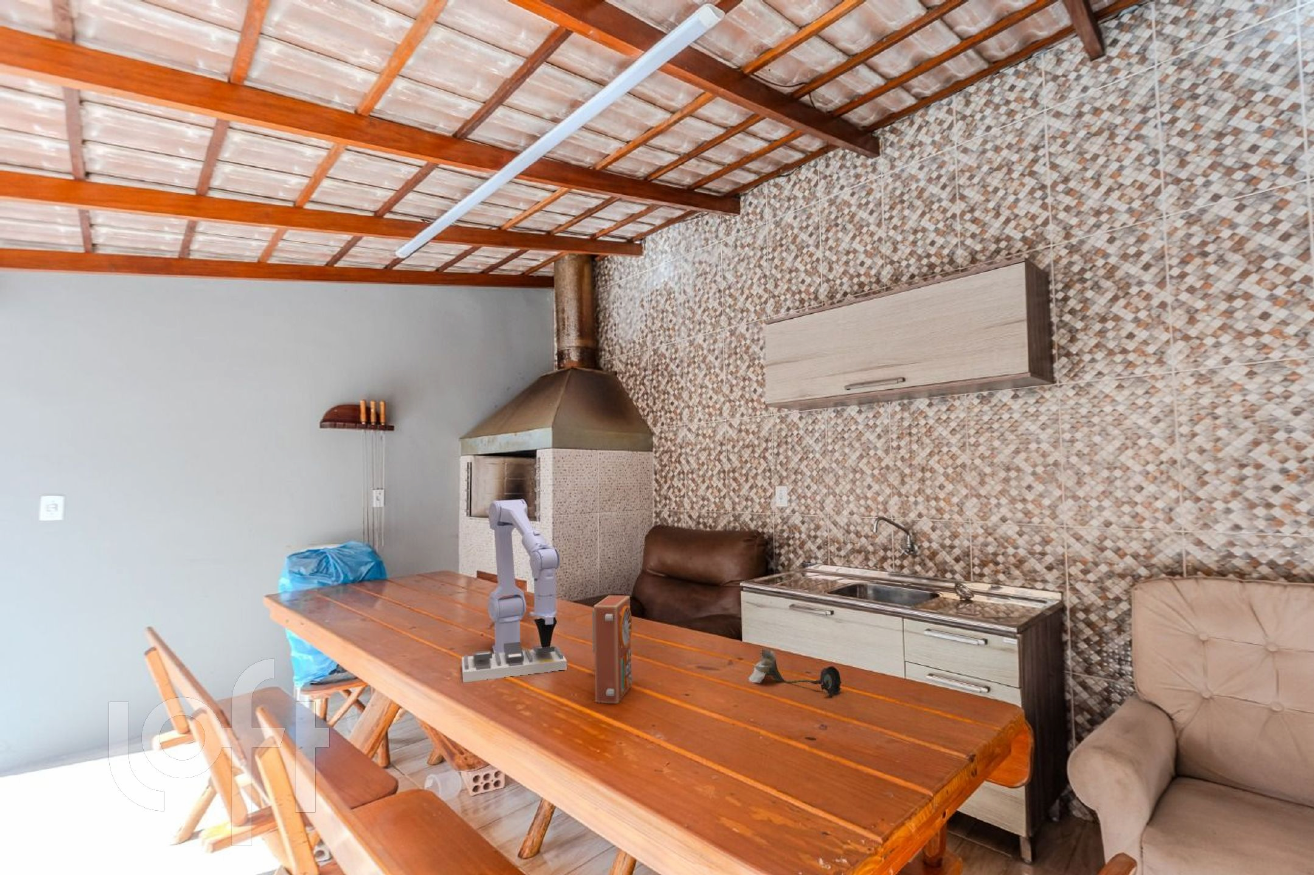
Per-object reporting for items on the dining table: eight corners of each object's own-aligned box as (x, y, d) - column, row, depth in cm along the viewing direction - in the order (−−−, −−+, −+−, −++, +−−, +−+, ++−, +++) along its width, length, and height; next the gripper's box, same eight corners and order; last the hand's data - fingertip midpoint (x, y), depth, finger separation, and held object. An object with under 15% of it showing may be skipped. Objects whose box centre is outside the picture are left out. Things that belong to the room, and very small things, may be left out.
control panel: (635, 683, 155) (619, 706, 140) (608, 682, 156) (589, 704, 141) (634, 594, 156) (618, 607, 141) (606, 594, 157) (587, 606, 143)
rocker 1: (473, 657, 170) (472, 651, 171) (490, 655, 172) (489, 650, 172) (474, 660, 162) (474, 654, 162) (492, 658, 163) (492, 652, 164)
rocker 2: (533, 650, 175) (533, 645, 176) (549, 648, 177) (549, 643, 177) (537, 653, 167) (537, 647, 167) (554, 651, 168) (554, 646, 169)
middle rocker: (503, 647, 173) (503, 643, 173) (520, 646, 175) (520, 641, 174) (506, 662, 165) (506, 657, 165) (523, 660, 166) (523, 655, 166)
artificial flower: (826, 708, 140) (813, 666, 139) (747, 696, 156) (735, 658, 156) (845, 687, 146) (833, 646, 146) (767, 678, 162) (756, 641, 162)
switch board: (461, 666, 172) (461, 653, 172) (558, 656, 180) (558, 643, 180) (463, 682, 159) (463, 668, 159) (566, 670, 167) (566, 656, 167)
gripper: (526, 591, 175) (527, 641, 174) (533, 600, 161) (533, 655, 160) (552, 589, 177) (553, 638, 176) (561, 598, 163) (561, 652, 163)
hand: (545, 646), depth 169 cm, fingers closed
